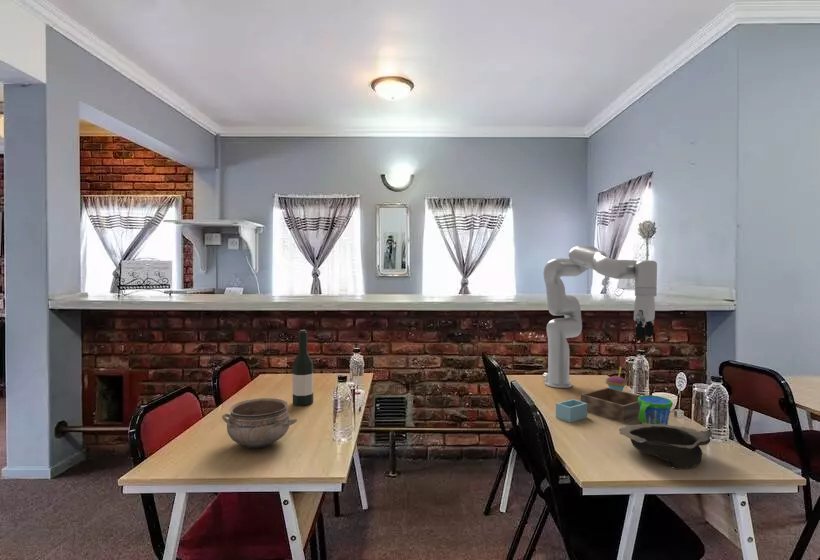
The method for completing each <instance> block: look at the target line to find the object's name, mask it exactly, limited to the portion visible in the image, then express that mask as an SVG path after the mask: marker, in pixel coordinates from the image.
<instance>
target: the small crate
mask: <svg viewBox="0 0 820 560" xmlns="http://www.w3.org/2000/svg"><path fill="white" fill-rule="evenodd" d="M555 418H556V419H558V420H562V421H565V422H567V423H568V422H569V423H572V422H573V423H574V422H576V421H580V420H584V419H588V412H587V403H585V402H581V400H577V399H575V398H571V399H568V400H564V401H560V402H557V403H555Z"/></svg>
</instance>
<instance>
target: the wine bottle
mask: <svg viewBox="0 0 820 560" xmlns="http://www.w3.org/2000/svg"><path fill="white" fill-rule="evenodd" d="M313 403H314V361H313V359H312V358H311V356H310V355H309V353H308V331H307V330H306V329H299V332H298V353H297V355H296V357H295V359H294V361H293V362H292V405H294V406H296V407H307V406H311V405H313Z"/></svg>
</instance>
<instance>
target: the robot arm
mask: <svg viewBox="0 0 820 560" xmlns="http://www.w3.org/2000/svg"><path fill="white" fill-rule="evenodd" d="M587 270H593V271H595V272H596V273H598V274H600V275H602V276H605V277H609V278H612V279H615V280H622V279H624V280H630V279H632V280H633V279H634V281H635V282H634V296H635V298H634V299H635V300H634V308H633V320H634V322H635V338H639V339H645V338H646V335H647V336H654V333H655V332H654V331H655V330H654V329H655V317H656V315H655V314H656V302H655V297H657V294H658V293H657V291H658V289H657V288H658V287H657V285H658V263H657V261H655V260H645V259H644V260H635V259H615V258H611V257H608V255H607V253H606V252H604V251H602V250H599V249H598V248H597V247H595V246H592V245H591V246H590V245H577V246H573V247H572V248H570V250H569V252H568V258H563V257H560V258H553V259H550V260H549V261H547V262H546V264H545V266H544V268H543V279H544V283H545V288H546V289H545V291H546V301H547V302H546V303H547V310H548V312H549V314H550V315H552V316H558V317H559V316H564V317H560V318H553V319H551V320H549V321H548V323H547V324H546V328H545V329H546V335H547V343H548V344H547V345H548V347H547V348H548V352H547V353H548V355H547V358H548V361H547V362H548V363H547V364H548V365H547V366H548V367H547V372H544V373H542V375H541V376H542V378H544V379H545V381H544V385H545V386H547V387H551V388H555V389H556V388H557V389H568V388H572V387H573V382H572V381H570V345H569V342H568V341H567V339H570V338H576V337H578V336H580V335H581V334H582V330H583V319H582V311H581V305H580V302H579V300H578V298H577V297H576V296H573V295H571V294H566V287H565V284H564V282H563V280H562V277H577V276H579V275H581V274H583V273H585V272H586V271H587Z"/></svg>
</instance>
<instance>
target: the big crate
mask: <svg viewBox="0 0 820 560" xmlns="http://www.w3.org/2000/svg"><path fill="white" fill-rule="evenodd" d="M640 396H641V395H638V394H634V393H631V392H626V391H624V390H623V391H619V390H615V389H611V388H609V387H605V388H602V389H597V390H594V391H590V392H585V393H581V394H580V401H581V402H585V403H587V413H591V414H594V415H597V416H601V417H604V418H607V419H610V420H614V421H617V422H621V423H627V422H630V421H633V420H635V419H638V416H639V412H640V405H639V402H638V397H640Z"/></svg>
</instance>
